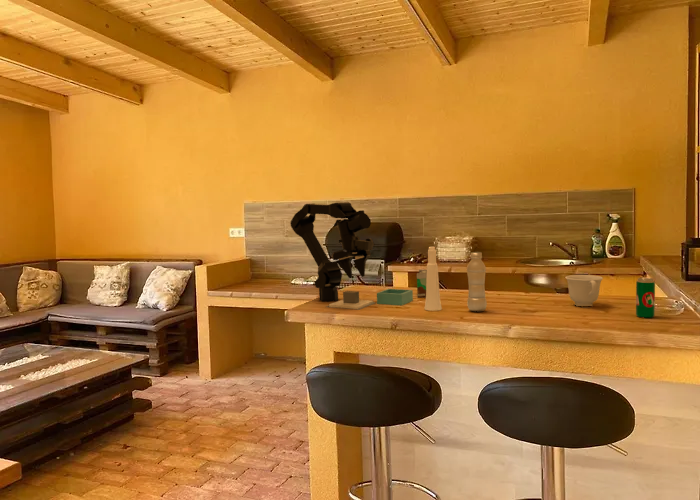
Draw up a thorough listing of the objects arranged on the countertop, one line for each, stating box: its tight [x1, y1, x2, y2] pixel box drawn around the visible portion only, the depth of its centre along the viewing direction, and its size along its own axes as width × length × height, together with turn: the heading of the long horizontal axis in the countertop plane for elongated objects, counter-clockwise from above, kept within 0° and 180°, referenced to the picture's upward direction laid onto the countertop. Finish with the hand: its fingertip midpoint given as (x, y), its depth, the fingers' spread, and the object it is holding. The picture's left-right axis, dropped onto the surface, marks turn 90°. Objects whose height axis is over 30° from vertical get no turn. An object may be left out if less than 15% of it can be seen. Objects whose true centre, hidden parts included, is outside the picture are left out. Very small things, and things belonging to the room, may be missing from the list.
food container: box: [416, 269, 427, 299], centre depth 213 cm, size 12×6×10 cm, turn 168°
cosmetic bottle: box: [424, 246, 443, 312], centre depth 185 cm, size 6×6×22 cm
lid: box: [328, 290, 374, 310], centre depth 194 cm, size 12×12×5 cm
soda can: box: [635, 277, 656, 319], centre depth 163 cm, size 5×5×12 cm
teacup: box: [564, 274, 604, 307], centre depth 182 cm, size 12×15×10 cm
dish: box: [376, 288, 414, 306], centre depth 197 cm, size 10×10×5 cm
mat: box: [326, 301, 377, 311], centre depth 194 cm, size 14×14×1 cm
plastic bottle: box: [466, 251, 488, 312], centre depth 180 cm, size 6×7×20 cm
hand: (357, 277), depth 192 cm, fingers open, 9 cm apart
